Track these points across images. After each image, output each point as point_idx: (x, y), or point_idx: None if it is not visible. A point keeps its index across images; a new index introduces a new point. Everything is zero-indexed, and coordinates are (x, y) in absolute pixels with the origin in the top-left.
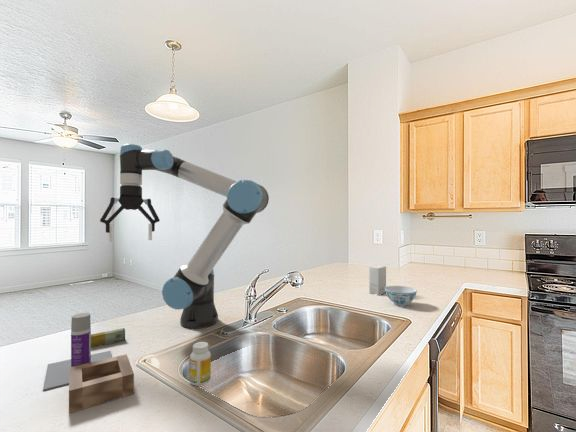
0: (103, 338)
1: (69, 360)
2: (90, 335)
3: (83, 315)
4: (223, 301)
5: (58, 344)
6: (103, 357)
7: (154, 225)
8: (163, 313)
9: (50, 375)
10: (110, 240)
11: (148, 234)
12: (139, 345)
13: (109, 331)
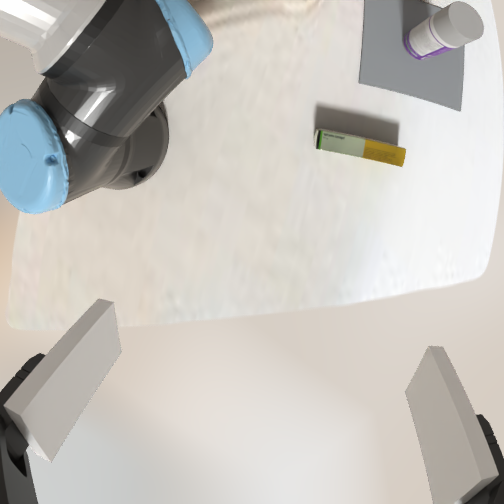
0: (366, 138)
1: (431, 96)
2: (426, 21)
3: (462, 12)
4: (42, 260)
5: (429, 217)
6: (377, 56)
7: (2, 392)
8: (178, 272)
9: (458, 56)
10: (441, 354)
11: (100, 383)
12: (296, 73)
13: (352, 149)
